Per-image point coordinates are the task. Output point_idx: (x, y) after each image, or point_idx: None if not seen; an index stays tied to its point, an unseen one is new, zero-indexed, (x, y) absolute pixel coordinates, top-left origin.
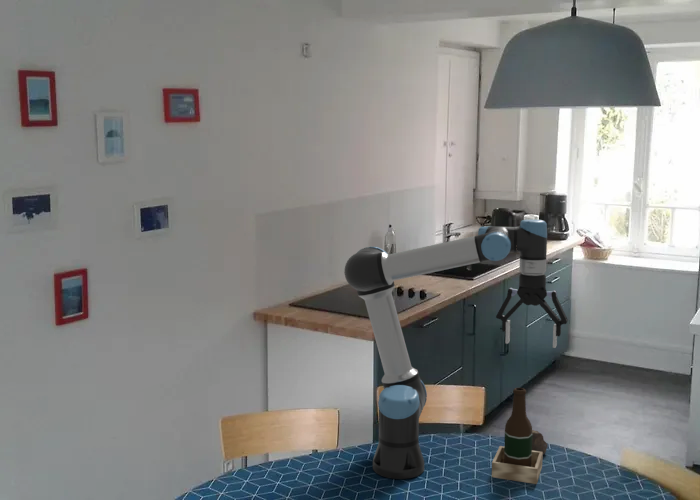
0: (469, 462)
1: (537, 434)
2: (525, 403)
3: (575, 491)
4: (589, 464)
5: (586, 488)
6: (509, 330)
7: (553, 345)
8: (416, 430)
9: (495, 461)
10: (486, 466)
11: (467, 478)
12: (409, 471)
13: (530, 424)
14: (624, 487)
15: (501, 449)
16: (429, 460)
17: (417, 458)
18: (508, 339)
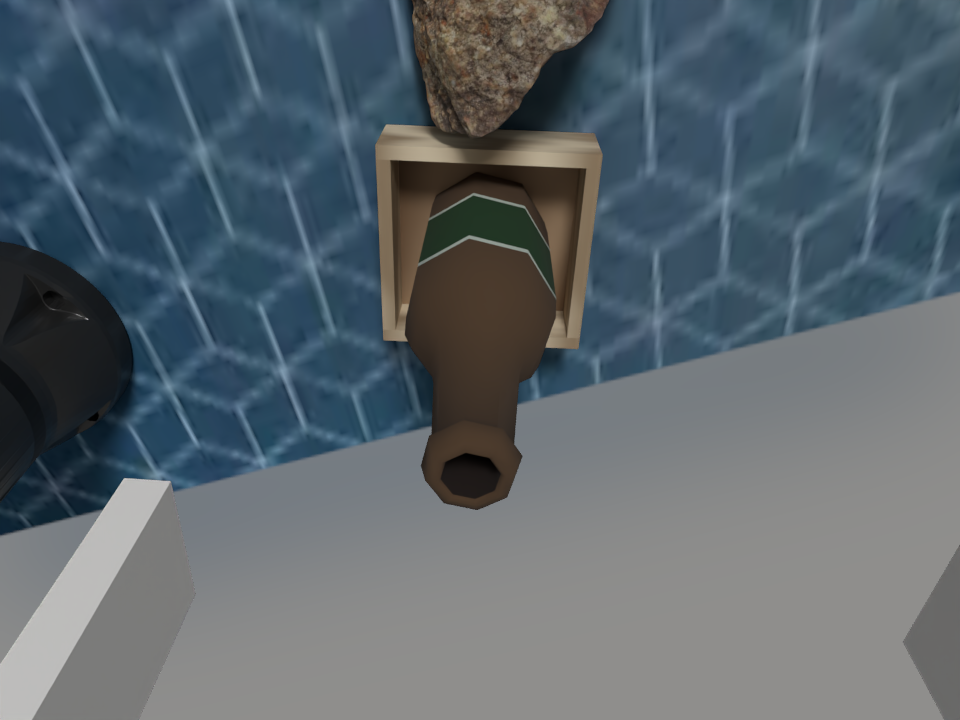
0: (263, 196)
1: (576, 43)
2: (516, 408)
3: (720, 331)
4: (838, 31)
5: (768, 296)
6: (68, 709)
7: (932, 679)
8: (8, 467)
9: (395, 326)
10: (346, 215)
11: (306, 342)
12: (100, 419)
13: (547, 334)
14: (936, 243)
15: (391, 170)
16: (95, 229)
17: (89, 403)
18: (164, 618)
